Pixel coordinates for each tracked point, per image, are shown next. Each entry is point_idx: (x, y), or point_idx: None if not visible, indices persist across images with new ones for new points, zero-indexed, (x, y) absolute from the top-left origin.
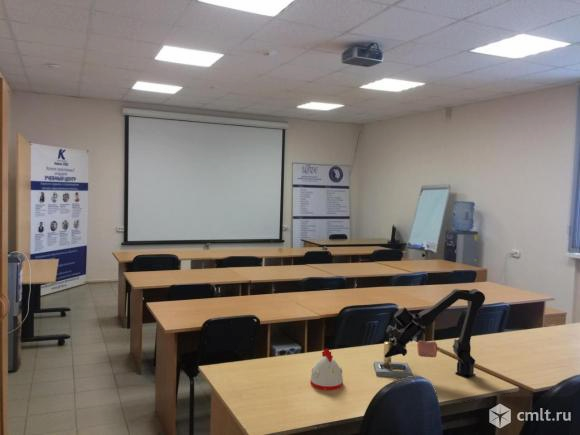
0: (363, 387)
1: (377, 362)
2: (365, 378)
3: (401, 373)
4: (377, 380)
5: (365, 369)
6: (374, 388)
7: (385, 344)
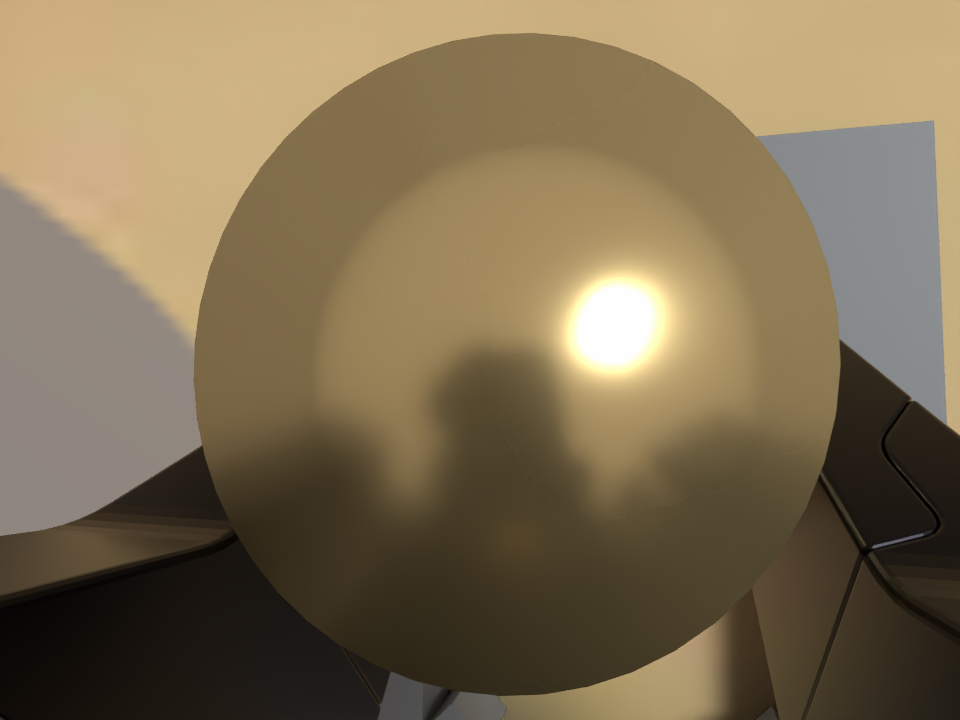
0: (24, 38)
1: (862, 206)
2: (275, 44)
3: None
4: (223, 210)
5: (644, 18)
6: (5, 166)
7: (313, 176)
